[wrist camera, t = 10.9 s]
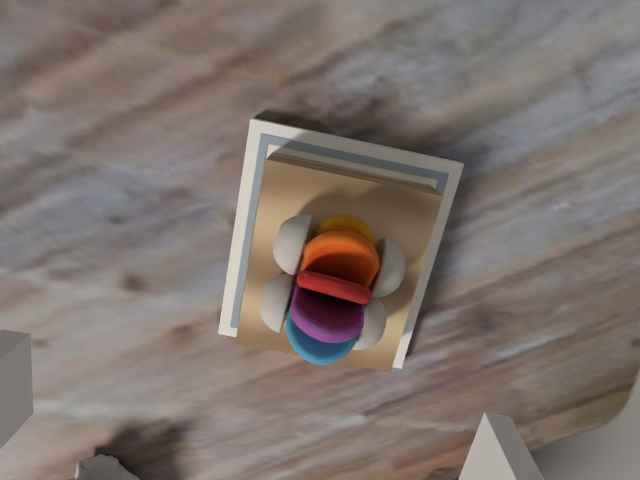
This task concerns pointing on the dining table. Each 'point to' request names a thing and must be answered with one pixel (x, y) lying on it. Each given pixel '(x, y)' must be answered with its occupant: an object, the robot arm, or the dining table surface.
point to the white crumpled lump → (102, 469)
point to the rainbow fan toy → (331, 286)
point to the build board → (341, 153)
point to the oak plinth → (321, 203)
